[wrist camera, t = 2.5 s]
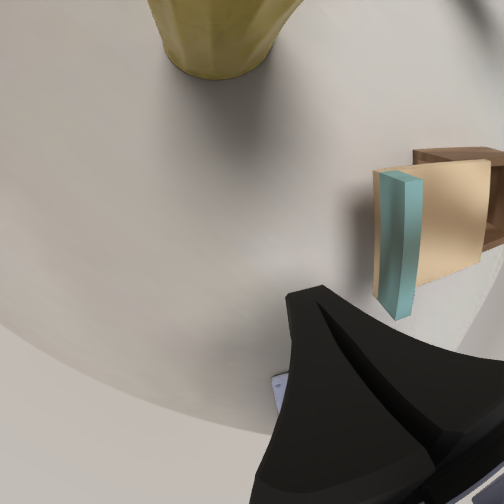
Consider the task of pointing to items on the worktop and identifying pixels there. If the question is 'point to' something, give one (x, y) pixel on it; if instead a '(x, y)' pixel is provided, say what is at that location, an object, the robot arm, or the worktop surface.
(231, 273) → the worktop surface
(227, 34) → the vase
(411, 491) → the robot arm
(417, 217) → the tan panel teal strip
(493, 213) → the box
